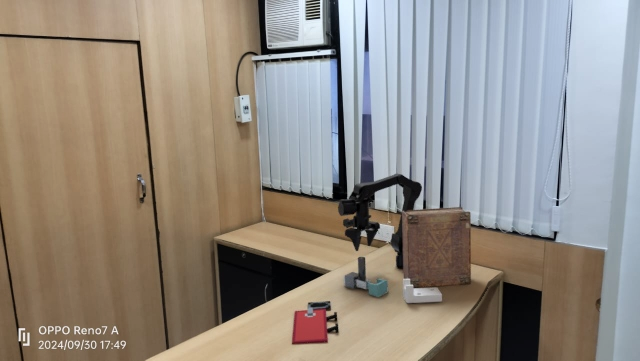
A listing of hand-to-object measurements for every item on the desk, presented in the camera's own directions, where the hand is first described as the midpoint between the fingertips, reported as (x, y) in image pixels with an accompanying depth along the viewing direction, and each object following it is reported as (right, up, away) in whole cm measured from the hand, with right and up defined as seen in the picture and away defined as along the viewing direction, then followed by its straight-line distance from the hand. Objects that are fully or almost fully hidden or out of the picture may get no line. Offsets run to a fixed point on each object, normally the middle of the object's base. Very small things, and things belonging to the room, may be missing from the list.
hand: (363, 248), depth 204 cm
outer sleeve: (-5, -14, -11) cm, 19 cm away
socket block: (+4, -15, -19) cm, 25 cm away
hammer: (-4, -13, -13) cm, 19 cm away
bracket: (+20, -16, -27) cm, 37 cm away
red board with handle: (-20, -20, -41) cm, 50 cm away
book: (+29, -13, -11) cm, 34 cm away
